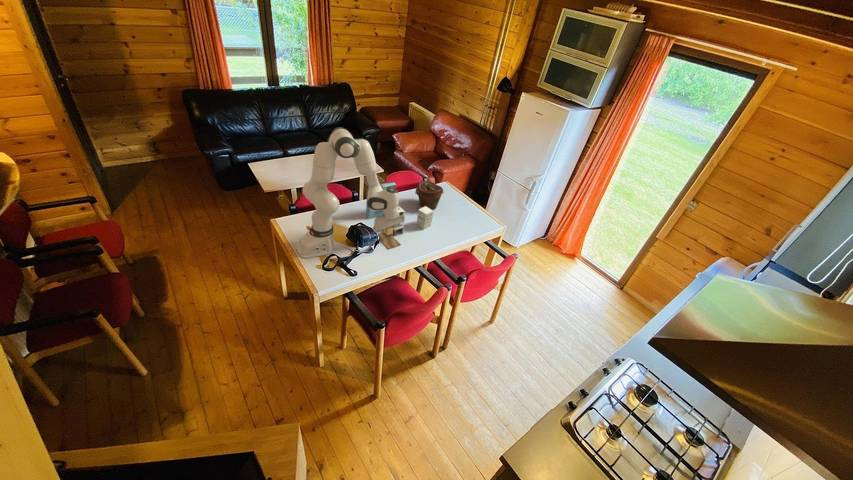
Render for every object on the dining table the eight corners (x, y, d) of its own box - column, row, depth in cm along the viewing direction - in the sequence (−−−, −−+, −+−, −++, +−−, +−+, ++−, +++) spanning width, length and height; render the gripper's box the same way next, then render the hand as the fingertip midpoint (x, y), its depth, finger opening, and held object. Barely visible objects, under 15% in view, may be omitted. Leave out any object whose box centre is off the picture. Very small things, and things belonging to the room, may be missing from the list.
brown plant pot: (415, 197, 275) (418, 176, 264) (441, 202, 275) (445, 181, 264) (411, 209, 261) (414, 188, 250) (439, 215, 261) (443, 193, 250)
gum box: (390, 209, 258) (393, 181, 244) (394, 213, 254) (396, 184, 241) (365, 215, 248) (366, 186, 234) (368, 219, 245) (370, 190, 231)
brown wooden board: (388, 249, 223) (388, 248, 222) (375, 235, 232) (375, 234, 232) (400, 245, 227) (400, 244, 227) (387, 231, 237) (387, 230, 237)
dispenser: (402, 233, 237) (404, 221, 231) (394, 236, 234) (395, 224, 228) (393, 223, 244) (394, 212, 239) (384, 226, 241) (385, 214, 235)
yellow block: (392, 233, 227) (393, 228, 225) (387, 235, 225) (387, 230, 223) (382, 223, 234) (383, 218, 232) (377, 225, 232) (377, 219, 230)
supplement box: (415, 224, 247) (418, 209, 239) (423, 221, 252) (425, 205, 244) (423, 230, 243) (426, 214, 236) (431, 226, 248) (433, 210, 240)
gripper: (377, 219, 210) (376, 238, 219) (407, 211, 221) (405, 229, 229) (372, 214, 214) (371, 233, 222) (401, 205, 225) (399, 224, 233)
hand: (388, 231), depth 226 cm, fingers closed on yellow block, 4 cm apart
